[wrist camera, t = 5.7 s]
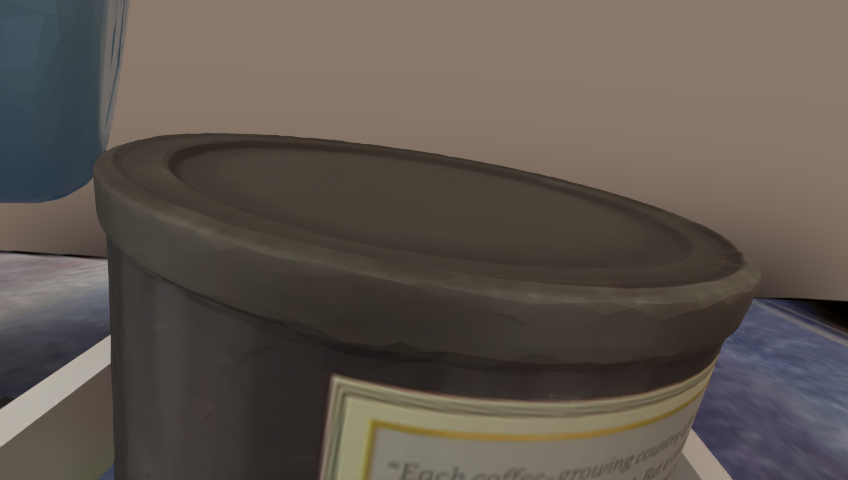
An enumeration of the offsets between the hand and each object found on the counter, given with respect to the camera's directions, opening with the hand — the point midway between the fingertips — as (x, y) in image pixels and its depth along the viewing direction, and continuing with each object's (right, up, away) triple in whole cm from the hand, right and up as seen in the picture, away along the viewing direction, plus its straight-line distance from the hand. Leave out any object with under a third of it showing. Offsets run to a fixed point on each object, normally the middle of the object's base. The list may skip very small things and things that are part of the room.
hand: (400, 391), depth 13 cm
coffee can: (-1, -8, -1) cm, 8 cm away
